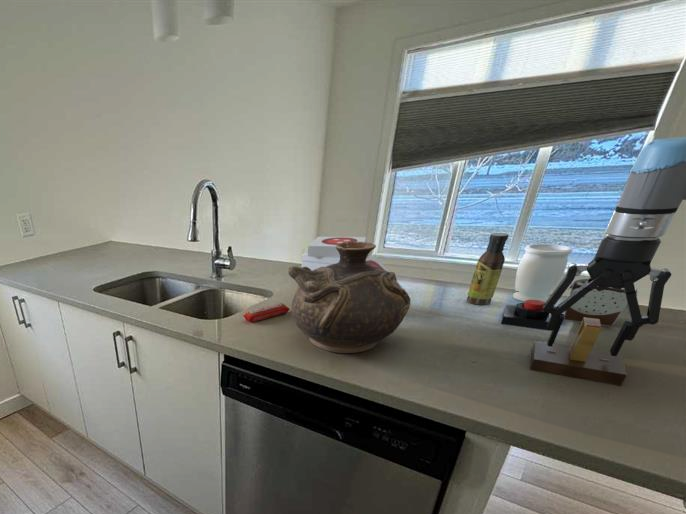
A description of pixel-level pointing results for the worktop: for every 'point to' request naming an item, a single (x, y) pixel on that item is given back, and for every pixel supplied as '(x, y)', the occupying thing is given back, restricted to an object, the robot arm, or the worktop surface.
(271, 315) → the candy bar
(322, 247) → the pizza boxes
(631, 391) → the worktop surface
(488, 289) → the sauce bottle
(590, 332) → the thumb turn
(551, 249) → the jar
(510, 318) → the set button box
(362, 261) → the vessel
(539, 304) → the set button
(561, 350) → the plate
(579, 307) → the food container
